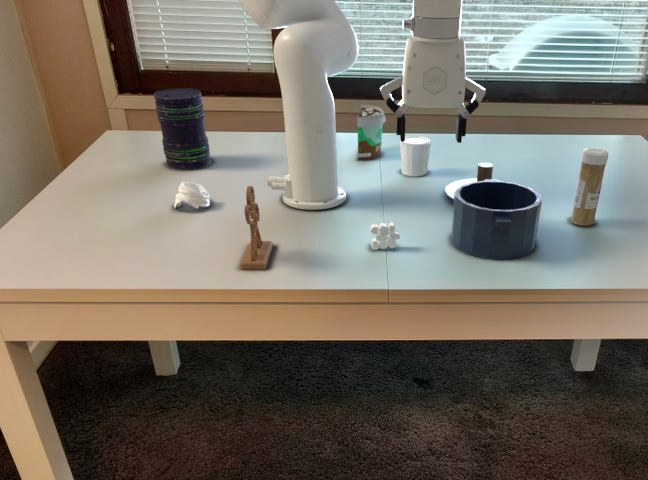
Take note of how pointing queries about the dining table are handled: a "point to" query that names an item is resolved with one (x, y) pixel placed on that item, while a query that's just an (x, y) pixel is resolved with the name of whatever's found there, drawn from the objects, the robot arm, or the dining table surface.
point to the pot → (495, 219)
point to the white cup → (415, 155)
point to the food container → (370, 132)
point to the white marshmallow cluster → (384, 236)
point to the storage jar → (183, 128)
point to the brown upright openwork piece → (255, 237)
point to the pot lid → (482, 174)
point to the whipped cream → (192, 195)
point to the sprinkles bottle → (589, 186)
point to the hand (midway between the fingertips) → (430, 139)
